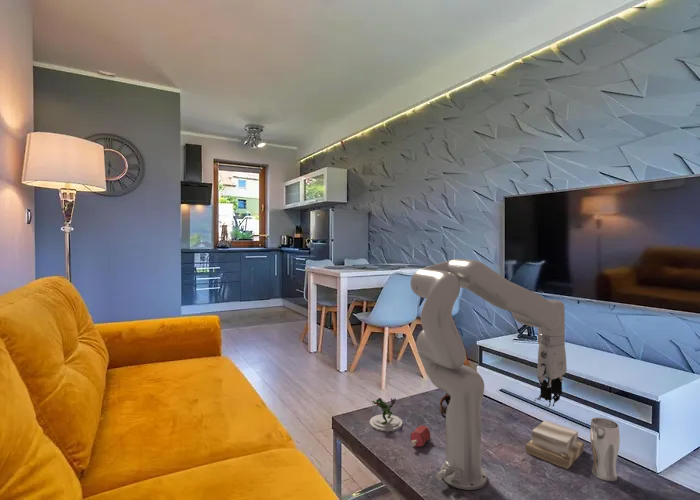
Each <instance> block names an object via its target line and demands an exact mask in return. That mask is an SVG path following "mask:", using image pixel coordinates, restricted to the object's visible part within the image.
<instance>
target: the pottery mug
mask: <svg viewBox="0 0 700 500" xmlns="http://www.w3.org/2000/svg"><path fill="white" fill-rule="evenodd" d="M450 399H451V397H450V395H448V394H447V393H445V394H444V395H443V396H442V398H440V401H439V411H440V414H441V415H446V410H447V407H448V405H449V403H450ZM444 401H445V403H446V405H447V407H446V406H445V405H443V403H444Z"/></svg>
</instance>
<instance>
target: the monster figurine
mask: <svg viewBox="0 0 700 500" xmlns="http://www.w3.org/2000/svg"><path fill="white" fill-rule="evenodd" d="M396 399H397V398H396V397H395V398H393V399H392V397H390V403H391V404H390V405H389V404H387V403H386V401H384V400H383V399H382V398H381V397H378V399H375V401H374V400H371V405H372V406H375V405H376V406H378V407H379V408H381V411H382V412H383V413H381V414H377V415H374V416H372V417H371V418H370V419H369V426H370V425H371V426H372V427H373V428H375V429H377V430H376V431H378V430H380V431H379V432H382V431H388V432H387V433H389V431H392V432H396V431H398V430H400V429H401V428H402V427H403V420H402V418H400V417H399V416H398V415H393V412H392V411H391V410H392V408H393V406H394V405H395V403H396ZM371 426H370V427H371ZM372 427H371V428H372ZM373 428H372V429H373ZM375 429H374V430H375Z"/></svg>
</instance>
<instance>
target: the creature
mask: <svg viewBox="0 0 700 500" xmlns="http://www.w3.org/2000/svg"><path fill="white" fill-rule="evenodd" d="M554 390H555V386H554ZM555 392H556V390H555ZM552 395H553V396H552V400H553V403H551V401H552V400H547V399H544V401H543V400H541V395H540V394H539V397H536V398H534V400H533V402H534V403H535V402H536V401H537V400H538V401H542V402H545V401H546V402H549V405H547V404H546V405H545V407H546V406H547V407H546V409H548V408H549V407H555V403H556V402H558V401H559V400H560V398H561V395H562V394H557V392H556V393H554V392H552ZM551 404H552V405H551Z"/></svg>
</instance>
